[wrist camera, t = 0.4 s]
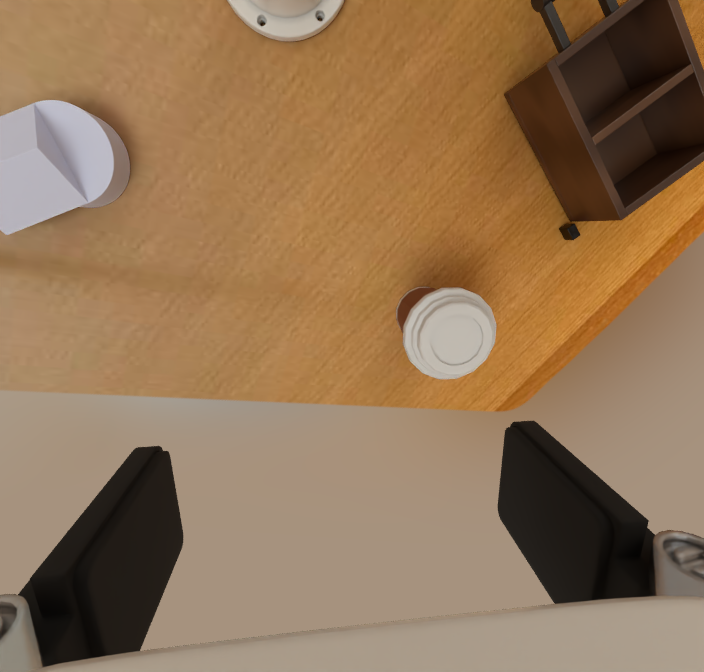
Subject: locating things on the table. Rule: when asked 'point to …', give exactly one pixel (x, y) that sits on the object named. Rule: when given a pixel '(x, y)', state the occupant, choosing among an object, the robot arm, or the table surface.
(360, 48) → the table surface
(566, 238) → the dark brown rod
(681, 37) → the shelf
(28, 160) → the wedge on round base
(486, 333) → the coffee cup
